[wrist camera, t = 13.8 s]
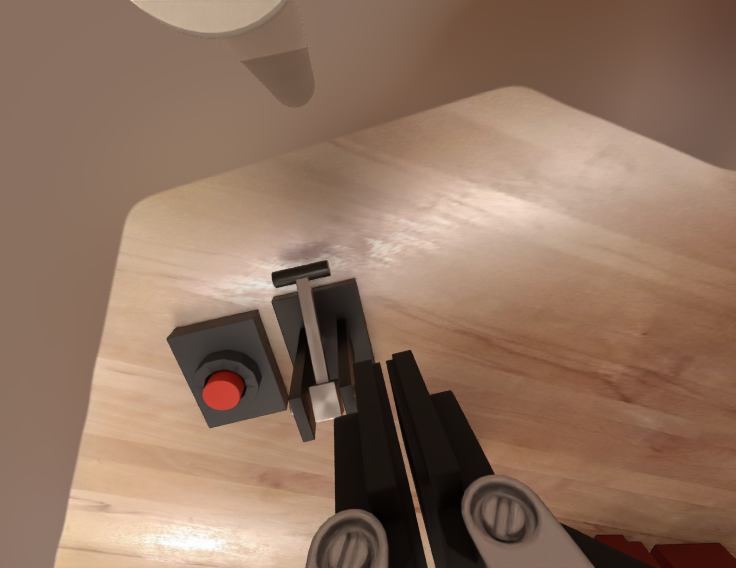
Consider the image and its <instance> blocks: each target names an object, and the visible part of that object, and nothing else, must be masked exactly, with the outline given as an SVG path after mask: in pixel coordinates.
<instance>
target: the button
mask: <svg viewBox="0 0 736 568" xmlns="http://www.w3.org/2000/svg"><path fill="white" fill-rule="evenodd" d="M243 390H244V383H243V380H242V378H241V377H240V376H239V375H238V374H236V373H234V372H231V371H219V372H216V373H214V374H213V375H212V376H211V377H210V378H209V380H208V382H207V384H206V386H205V388H204V390H203V399H204V401H205V403H206V404H207V405H208V406H210V407H211V408H213V409H217V410H228V409H231V408H233V407H235V406H236V405H237V404H238V402H239V401H240V398H241V395H242V392H243Z"/></svg>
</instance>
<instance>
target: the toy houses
mask: <svg viewBox="0 0 736 568" xmlns="http://www.w3.org/2000/svg"><path fill="white" fill-rule="evenodd" d="M595 539H596V540H598V541H600V542H602V543H604V544H606V545H608V546H610V547H613V548H615V549H617V550H619V551H621V552H623V553H625V554H627V555H629V556H631V557H634V558H636V559H638V560H640V561H642V562H644V563H646V564H648V565H650V566H653V567H655V568H736V559H735V558H734V557H733V556H732V555H731V554H730V553H729V552H728V551H727V550H726V549H725V548H724V547H723V546H722V545H721V544H720V543H717V544H679V545H655V547H654V548H653V550H652V552H651V554H650V553H649V552H648V550H647V549H646V548H645V547H644V545H643V544H642V543H641V542H628V541H627V540H626V539H625V538H624V536H623V535H596V537H595Z"/></svg>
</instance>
